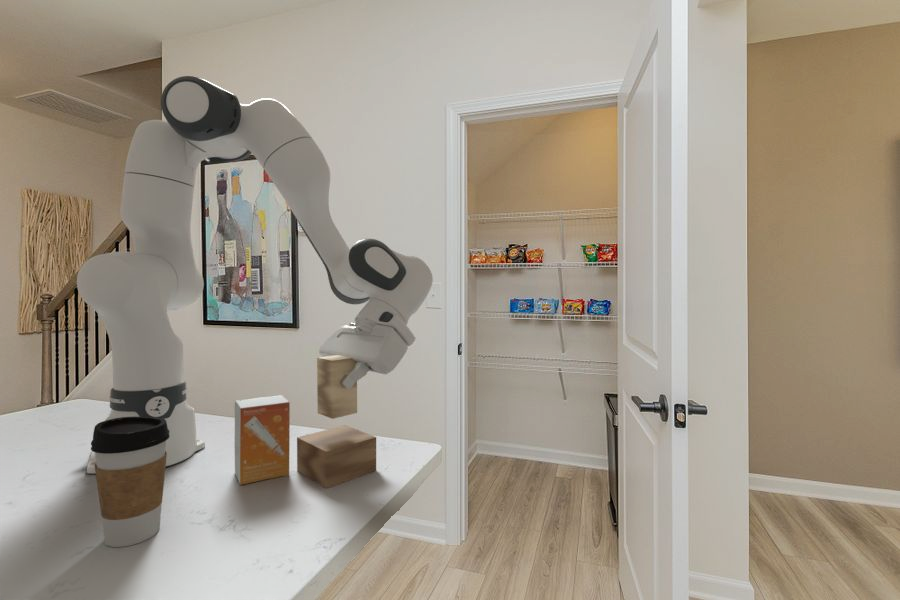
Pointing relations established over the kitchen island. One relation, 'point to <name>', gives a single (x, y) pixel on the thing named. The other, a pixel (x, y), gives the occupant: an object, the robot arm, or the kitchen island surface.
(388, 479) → the kitchen island surface
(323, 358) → the oak block
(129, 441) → the coffee cup
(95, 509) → the kitchen island surface
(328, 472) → the walnut block
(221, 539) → the kitchen island surface
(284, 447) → the small box
